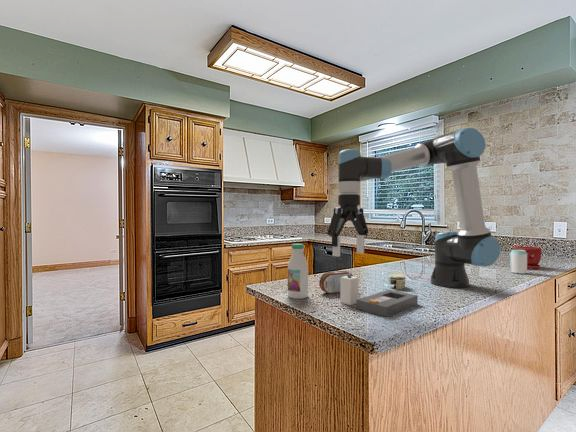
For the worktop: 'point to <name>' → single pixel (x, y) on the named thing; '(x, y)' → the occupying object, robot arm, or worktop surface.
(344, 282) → the block
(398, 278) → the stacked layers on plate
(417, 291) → the worktop surface
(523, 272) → the can
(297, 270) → the milk bottle
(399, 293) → the power strip
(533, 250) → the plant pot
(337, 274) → the tin
